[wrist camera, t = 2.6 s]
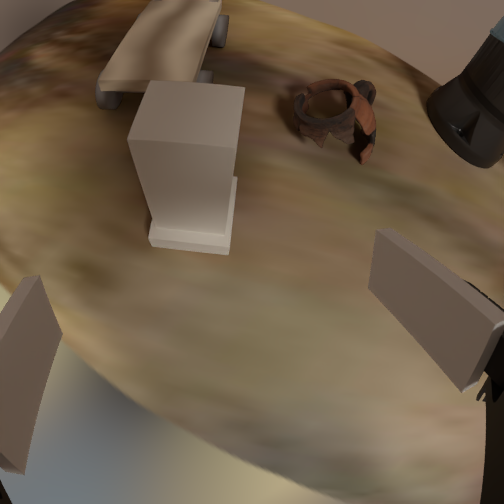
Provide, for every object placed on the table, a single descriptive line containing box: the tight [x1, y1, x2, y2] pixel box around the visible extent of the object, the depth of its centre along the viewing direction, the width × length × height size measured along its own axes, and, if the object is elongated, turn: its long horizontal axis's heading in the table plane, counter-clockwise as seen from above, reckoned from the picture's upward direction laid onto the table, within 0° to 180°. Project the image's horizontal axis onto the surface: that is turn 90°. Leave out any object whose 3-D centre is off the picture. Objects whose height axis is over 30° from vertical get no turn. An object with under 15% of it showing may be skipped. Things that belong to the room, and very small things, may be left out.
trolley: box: [95, 0, 229, 109], centre depth 28 cm, size 13×20×19 cm, turn 175°
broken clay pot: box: [293, 79, 376, 165], centre depth 34 cm, size 12×10×8 cm
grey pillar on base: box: [127, 80, 245, 255], centre depth 24 cm, size 7×7×14 cm
